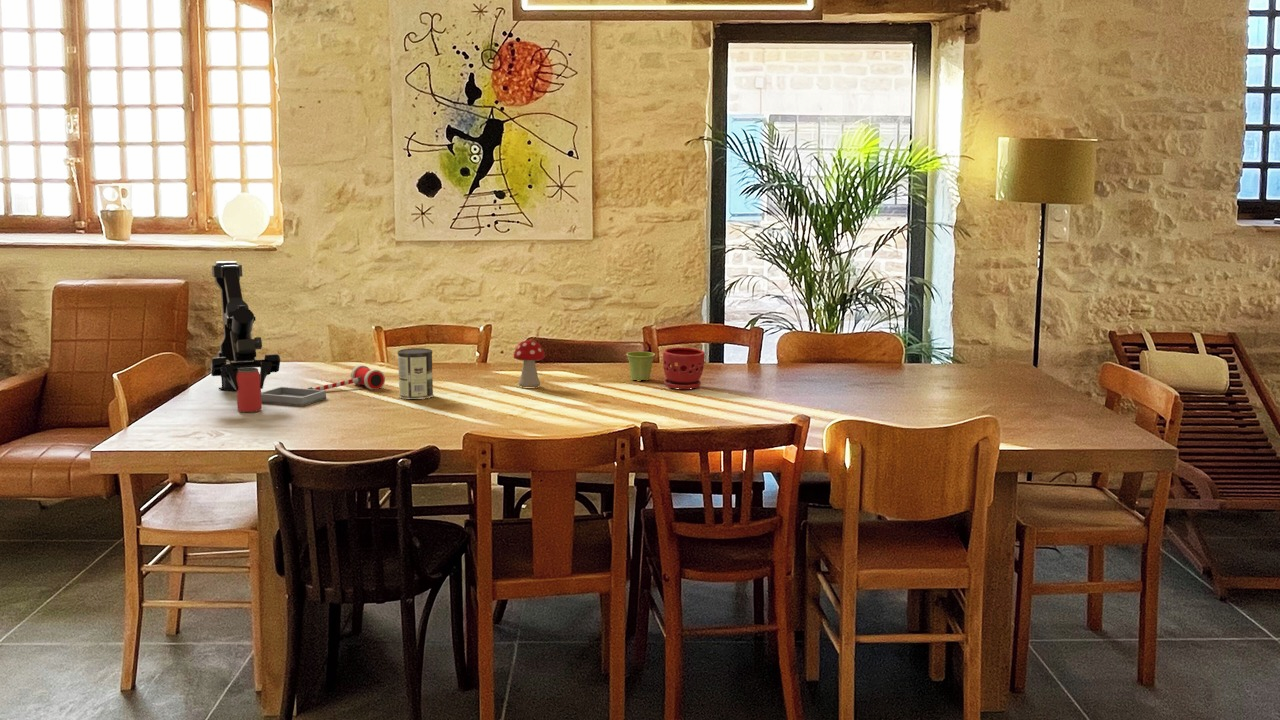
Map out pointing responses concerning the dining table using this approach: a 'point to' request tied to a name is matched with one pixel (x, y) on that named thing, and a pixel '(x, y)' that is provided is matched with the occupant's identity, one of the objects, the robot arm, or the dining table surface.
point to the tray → (292, 396)
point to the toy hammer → (360, 379)
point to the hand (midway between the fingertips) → (249, 388)
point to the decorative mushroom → (529, 362)
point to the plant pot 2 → (683, 367)
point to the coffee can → (415, 373)
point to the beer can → (248, 390)
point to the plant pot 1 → (640, 365)
